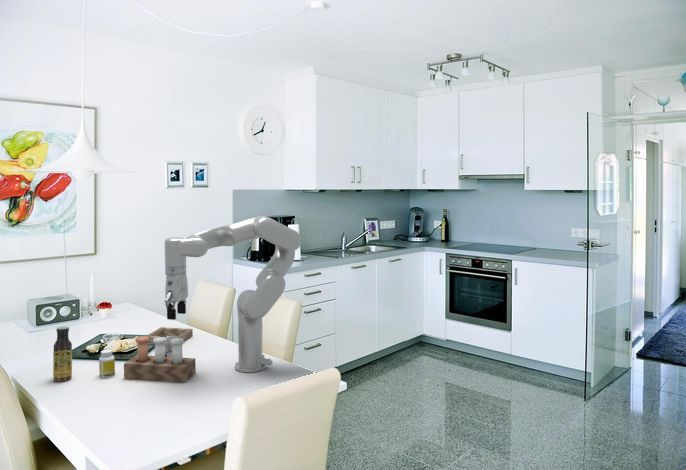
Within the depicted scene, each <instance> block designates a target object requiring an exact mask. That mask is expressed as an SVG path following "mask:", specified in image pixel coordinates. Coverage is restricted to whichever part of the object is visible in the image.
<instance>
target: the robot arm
mask: <svg viewBox="0 0 686 470" xmlns="http://www.w3.org/2000/svg"><path fill="white" fill-rule="evenodd" d="M260 238H261V239H263V240H265V241H267V242H268V243H271V244H272V245H275V246H274V247H275V249H274V254H273V255H272V257H271V258H270V260H269V261H268V262H267V263H266V265H265V266H264V267H263V268H262V270H261V271H260V272H259V273H258V275H257V276H256V278H255V284H256V287H257V288H256V289H255V290H254V289H245V290H243V291H241V293H239V295H238V298H237V299H236V300H237V301H236V311H237V323H238V325H237V326H238V337H237V338H238V342H237V343H238V361H237V362H235V364H234V369H235V371H237V372H241V373H256V372H260V371H263V370H264V369H266V368H267V366H272V365H273V359H271V358H266V357H265V354H263V318H264V317H265V316H266V315H268V313H269V312H270V311H271V309H272V308H273V307H274V306H275V304H276V303H277V302H278V301H279V299H280V298H281V297H282V295H283V293H284V292H285V289H286V279H285V276H286V274H288V271H289V270H290V269H291V267H292V266H293V264H294V261H295V258H296V257H295V256H296V250H298V249H299V248H300V247H301V245H302V236H301V234H300V233H299V232H298V231H296V230H295V229H292V228H291V227H288V226H287V225H285V224H283V223H281V222H279V221H277V220H275V219H273V218H271V217H270V216H269V217H268V216H265V215H257V216H254V217H250V218H246V219H243V220H240V221H237V222H233V223H230V224H226V225H221V226H219V227H216V228H215V227H214V228H210V229H206V230H204V231H200V232H198V233H197V232H196V233H194V234H190V235H189V236H187V237H186V238H183V237H180V236H179V237H176V236H174V237H167V238H165V241H164V274H165V276H166V277H165V293H164V294H165V299H164V303H165V308H166V319H167V320H171V321H172V320H173V321H174V320H177V314H178V315H180V314H182V315H185V314H186V312H187V311H186V310H187V305H186V304H187V298H188V297H189V286H188V278H187V277H188V276H187V257H188V258H201V257H203V256H205V255H206V254H207V252H208V251H209V250H211V249H214V248H218V247H235V246H238V245H242V244H244V243H248V242H251V241H254V240H257V239H260ZM175 307H177V309H176V308H175Z"/></svg>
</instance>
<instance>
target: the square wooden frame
mask: <svg viewBox="0 0 686 470" xmlns="http://www.w3.org/2000/svg"><path fill="white" fill-rule="evenodd" d="M193 331H194V330H193V328H181V327H162V326H161V327H158V328H157V329H156V330H154V331H153V332H150V333H149V334H147V335H146V336H148V337H149V341H148V343H153V339H154V338H157V337H161V336H162V337H165V338H166V337H170V336H176V338H183V339H184V343H185V342H187V341H188V340H189V339H191V338H192V337H193V336H194V335H193V334H194V333H193Z"/></svg>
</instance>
